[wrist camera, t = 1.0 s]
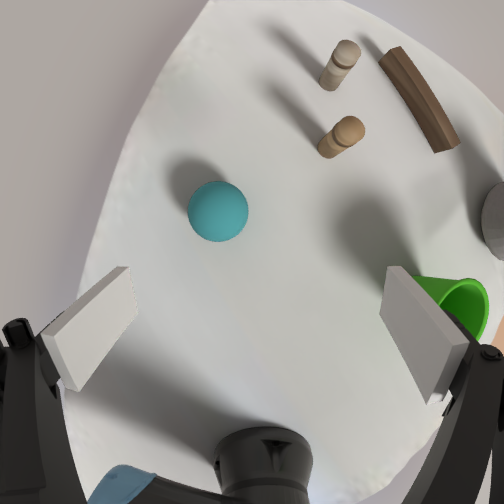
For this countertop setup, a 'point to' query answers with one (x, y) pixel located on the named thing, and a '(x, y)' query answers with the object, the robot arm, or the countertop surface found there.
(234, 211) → the ball
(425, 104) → the bar
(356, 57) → the side pin
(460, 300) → the cup
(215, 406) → the countertop surface
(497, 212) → the coffee pot
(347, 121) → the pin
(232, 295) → the countertop surface
